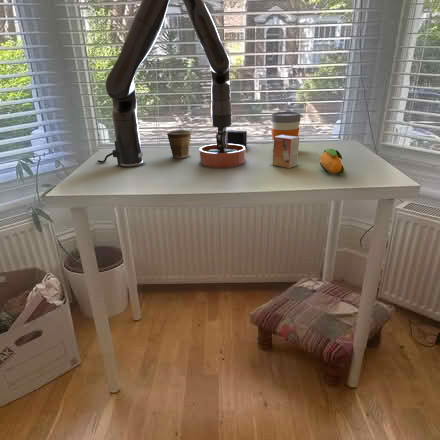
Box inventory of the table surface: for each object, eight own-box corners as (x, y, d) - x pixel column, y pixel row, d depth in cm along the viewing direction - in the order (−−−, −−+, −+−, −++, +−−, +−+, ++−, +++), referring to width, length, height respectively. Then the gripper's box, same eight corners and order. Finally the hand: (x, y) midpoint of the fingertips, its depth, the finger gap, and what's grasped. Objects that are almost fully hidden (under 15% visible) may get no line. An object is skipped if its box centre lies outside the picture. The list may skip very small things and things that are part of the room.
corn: (338, 144, 147) (351, 156, 130) (337, 165, 151) (349, 179, 134) (317, 146, 148) (328, 158, 131) (317, 166, 152) (327, 181, 135)
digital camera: (247, 146, 187) (247, 130, 184) (243, 148, 183) (243, 132, 180) (227, 145, 191) (227, 129, 188) (223, 147, 187) (222, 131, 183)
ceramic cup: (196, 156, 171) (195, 132, 166) (176, 160, 167) (174, 135, 162) (181, 152, 181) (179, 128, 176) (162, 155, 176) (159, 131, 171)
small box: (272, 165, 155) (273, 136, 149) (280, 162, 158) (281, 134, 153) (289, 168, 150) (291, 138, 144) (297, 165, 153) (299, 136, 148)
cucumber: (206, 161, 160) (205, 150, 158) (208, 158, 164) (207, 148, 161) (238, 161, 158) (238, 150, 156) (239, 158, 161) (239, 148, 159)
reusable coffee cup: (264, 151, 176) (265, 114, 168) (278, 146, 184) (279, 111, 177) (290, 154, 169) (292, 116, 162) (303, 149, 178) (305, 112, 170)
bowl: (196, 167, 155) (195, 153, 152) (205, 157, 170) (204, 143, 167) (242, 168, 152) (242, 153, 149) (247, 157, 167) (247, 143, 165)
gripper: (215, 110, 158) (216, 155, 167) (208, 115, 146) (210, 163, 155) (233, 110, 157) (234, 155, 166) (228, 115, 145) (229, 163, 154)
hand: (222, 158), depth 161 cm, fingers closed on cucumber, 4 cm apart
